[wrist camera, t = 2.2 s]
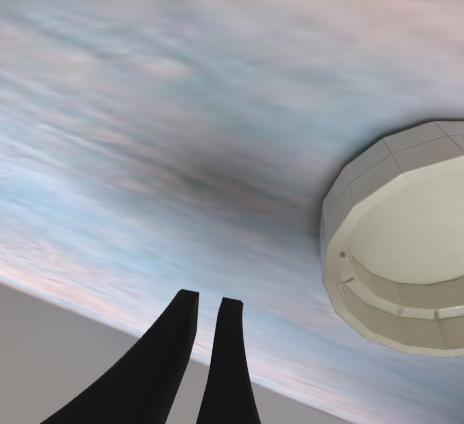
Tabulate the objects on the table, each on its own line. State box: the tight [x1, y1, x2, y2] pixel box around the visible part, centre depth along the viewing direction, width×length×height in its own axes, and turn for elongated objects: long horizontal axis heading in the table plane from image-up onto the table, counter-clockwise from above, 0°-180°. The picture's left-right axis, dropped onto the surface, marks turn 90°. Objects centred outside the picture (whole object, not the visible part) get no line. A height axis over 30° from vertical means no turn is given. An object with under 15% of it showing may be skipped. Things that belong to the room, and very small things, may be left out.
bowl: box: [319, 121, 464, 358], centre depth 17 cm, size 11×11×4 cm
